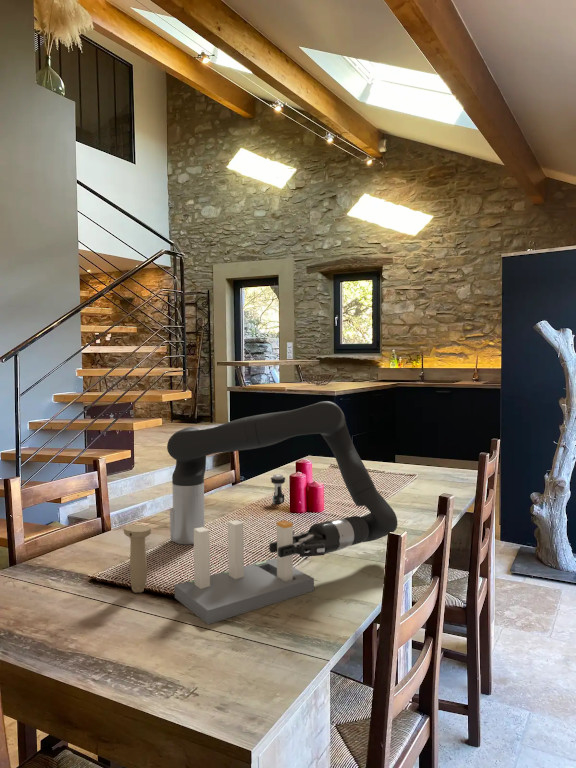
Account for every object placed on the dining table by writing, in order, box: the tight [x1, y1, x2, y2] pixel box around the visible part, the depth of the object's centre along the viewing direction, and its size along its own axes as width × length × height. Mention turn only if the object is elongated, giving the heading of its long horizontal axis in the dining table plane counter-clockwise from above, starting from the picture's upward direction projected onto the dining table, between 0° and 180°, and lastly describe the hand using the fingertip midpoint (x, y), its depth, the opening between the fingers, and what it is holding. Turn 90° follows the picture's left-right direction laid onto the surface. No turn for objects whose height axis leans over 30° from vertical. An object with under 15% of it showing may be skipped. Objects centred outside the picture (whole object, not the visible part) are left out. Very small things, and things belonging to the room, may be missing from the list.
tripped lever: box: [276, 519, 294, 582], centre depth 138 cm, size 2×3×14 cm
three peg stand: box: [174, 519, 315, 625], centre depth 135 cm, size 28×16×16 cm, turn 126°
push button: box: [270, 473, 286, 505], centre depth 213 cm, size 7×5×10 cm
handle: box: [123, 524, 152, 593], centre depth 137 cm, size 5×6×15 cm
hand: (274, 550), depth 136 cm, fingers closed on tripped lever, 3 cm apart
